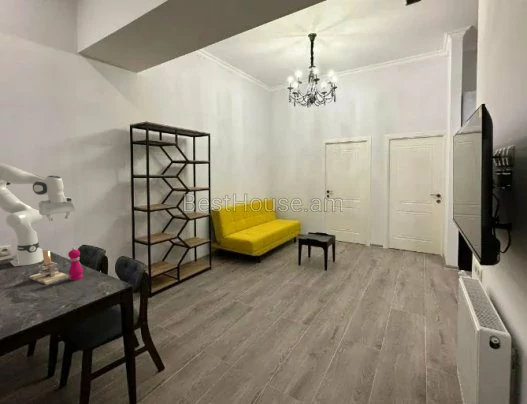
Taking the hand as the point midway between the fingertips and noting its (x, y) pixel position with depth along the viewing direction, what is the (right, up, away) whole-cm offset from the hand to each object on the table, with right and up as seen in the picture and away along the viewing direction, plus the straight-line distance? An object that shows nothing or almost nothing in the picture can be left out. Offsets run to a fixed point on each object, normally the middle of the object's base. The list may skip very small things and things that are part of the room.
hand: (58, 219), depth 181 cm
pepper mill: (+23, -36, -15) cm, 45 cm away
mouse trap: (+5, -36, -14) cm, 39 cm away
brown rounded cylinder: (+5, -34, -14) cm, 37 cm away
